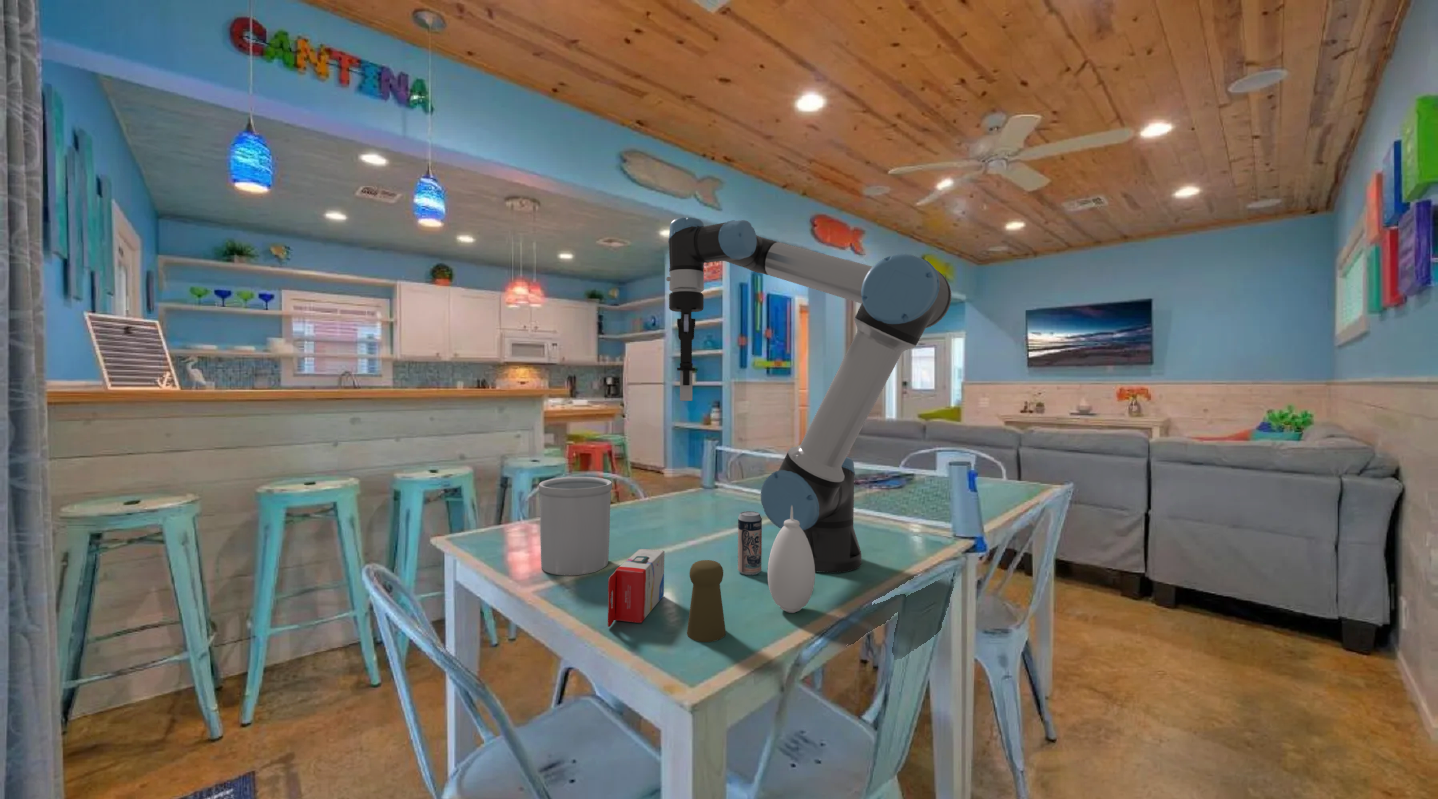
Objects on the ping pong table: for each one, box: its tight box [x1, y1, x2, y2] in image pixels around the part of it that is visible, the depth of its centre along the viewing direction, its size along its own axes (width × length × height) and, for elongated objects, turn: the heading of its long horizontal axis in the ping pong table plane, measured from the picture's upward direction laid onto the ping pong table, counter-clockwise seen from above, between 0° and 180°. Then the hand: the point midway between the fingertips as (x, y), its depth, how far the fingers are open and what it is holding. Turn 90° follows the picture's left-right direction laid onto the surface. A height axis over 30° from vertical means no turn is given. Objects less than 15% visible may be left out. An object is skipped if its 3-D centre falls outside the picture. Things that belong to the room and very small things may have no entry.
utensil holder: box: [538, 476, 613, 576], centre depth 116 cm, size 15×15×18 cm
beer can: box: [737, 510, 763, 576], centre depth 112 cm, size 5×5×12 cm
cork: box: [686, 559, 727, 643], centre depth 85 cm, size 6×6×11 cm
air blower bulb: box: [767, 506, 816, 614], centre depth 93 cm, size 8×8×18 cm
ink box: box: [607, 548, 665, 628], centre depth 93 cm, size 8×5×15 cm
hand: (686, 400), depth 121 cm, fingers closed
